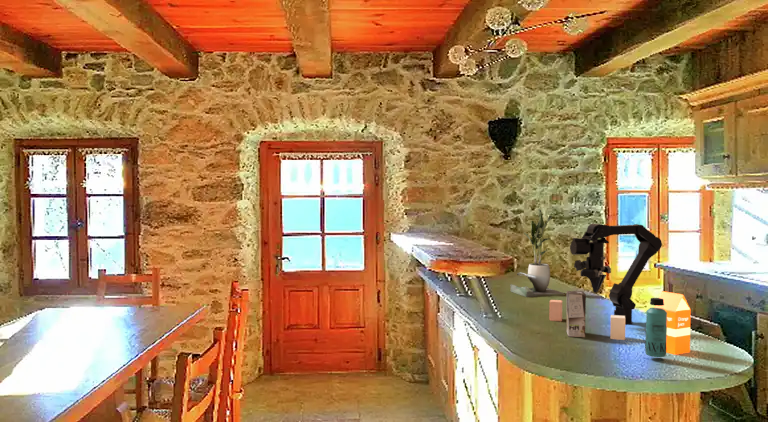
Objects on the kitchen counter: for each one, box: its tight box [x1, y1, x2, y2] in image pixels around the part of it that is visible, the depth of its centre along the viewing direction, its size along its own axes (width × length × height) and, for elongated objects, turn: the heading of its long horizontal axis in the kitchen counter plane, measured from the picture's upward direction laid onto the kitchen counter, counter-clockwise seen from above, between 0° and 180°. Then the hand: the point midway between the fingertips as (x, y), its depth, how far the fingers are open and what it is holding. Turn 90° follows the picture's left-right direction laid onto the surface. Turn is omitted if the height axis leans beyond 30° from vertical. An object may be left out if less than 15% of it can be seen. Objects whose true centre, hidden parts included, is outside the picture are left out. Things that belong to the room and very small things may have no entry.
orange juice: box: [653, 290, 692, 356], centre depth 219 cm, size 8×9×20 cm
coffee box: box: [565, 290, 587, 338], centre depth 243 cm, size 9×6×16 cm
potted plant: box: [509, 208, 565, 298], centre depth 339 cm, size 22×19×45 cm
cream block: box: [609, 314, 626, 341], centre depth 238 cm, size 5×5×8 cm
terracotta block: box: [548, 299, 563, 322], centre depth 271 cm, size 5×5×8 cm
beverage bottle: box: [644, 297, 668, 358], centre depth 207 cm, size 6×7×20 cm
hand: (595, 292), depth 263 cm, fingers closed
